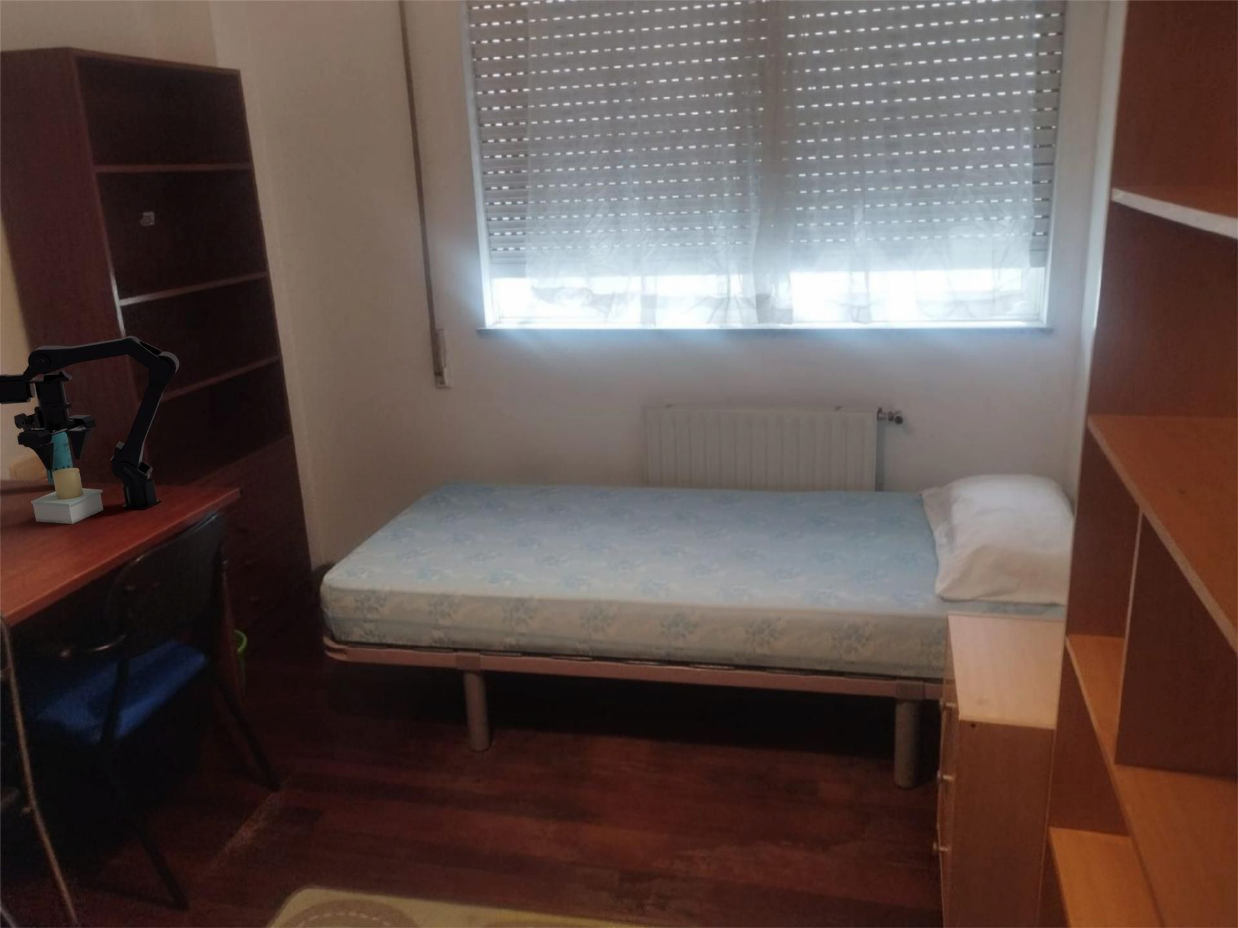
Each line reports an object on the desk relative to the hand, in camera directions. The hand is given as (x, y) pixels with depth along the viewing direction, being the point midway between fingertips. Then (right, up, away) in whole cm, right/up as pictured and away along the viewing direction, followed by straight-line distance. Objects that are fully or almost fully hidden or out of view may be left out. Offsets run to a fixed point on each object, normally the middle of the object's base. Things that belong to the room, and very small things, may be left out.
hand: (64, 464), depth 229 cm
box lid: (+1, -8, 0) cm, 8 cm away
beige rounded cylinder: (+2, -7, 0) cm, 7 cm away
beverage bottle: (-14, -6, +24) cm, 29 cm away
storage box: (+1, -12, +1) cm, 12 cm away
